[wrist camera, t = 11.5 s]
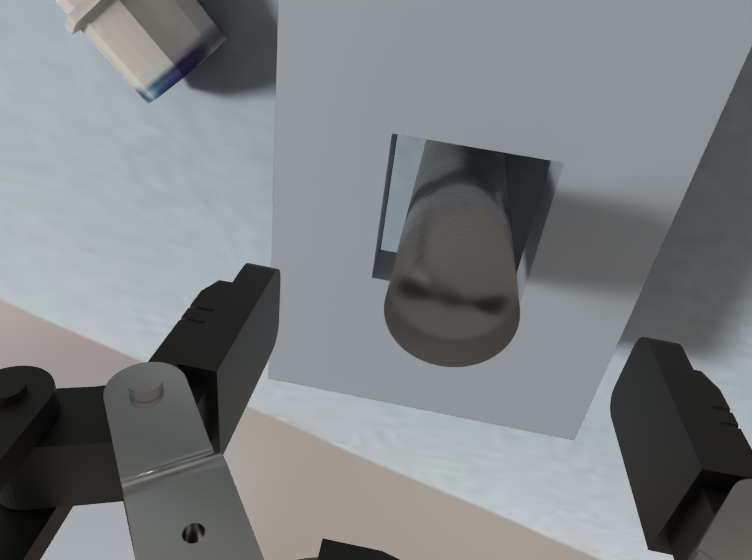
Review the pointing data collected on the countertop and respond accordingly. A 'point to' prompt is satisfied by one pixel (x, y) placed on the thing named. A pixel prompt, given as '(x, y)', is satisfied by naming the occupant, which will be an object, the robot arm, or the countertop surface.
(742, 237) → the countertop surface
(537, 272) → the bridge
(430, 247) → the tall pin
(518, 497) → the countertop surface
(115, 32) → the beige toy mallet
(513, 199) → the countertop surface
